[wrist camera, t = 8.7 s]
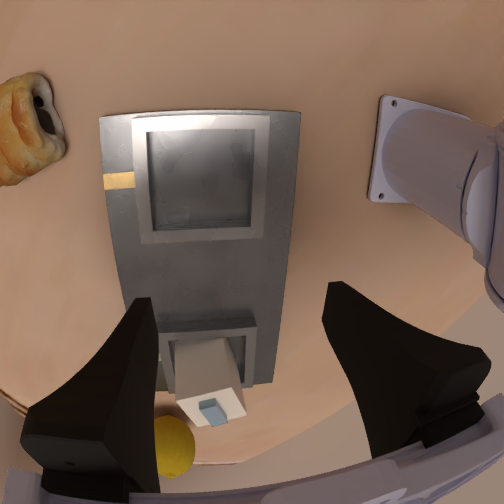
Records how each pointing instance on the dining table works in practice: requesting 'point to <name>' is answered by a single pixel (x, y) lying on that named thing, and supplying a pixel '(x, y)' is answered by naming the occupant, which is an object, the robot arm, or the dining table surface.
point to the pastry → (28, 128)
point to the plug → (208, 381)
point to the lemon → (173, 446)
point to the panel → (204, 225)
